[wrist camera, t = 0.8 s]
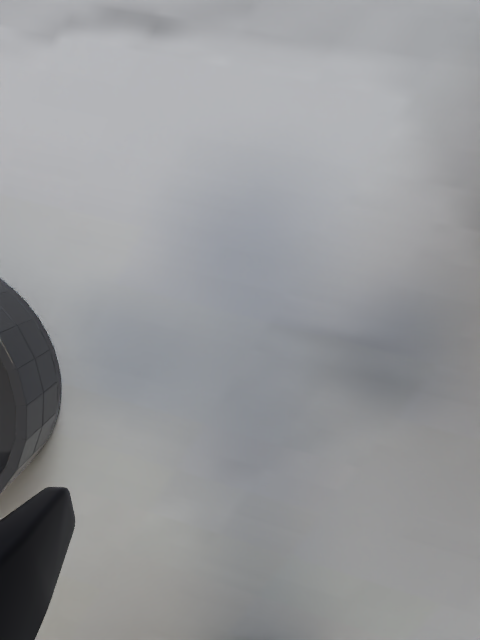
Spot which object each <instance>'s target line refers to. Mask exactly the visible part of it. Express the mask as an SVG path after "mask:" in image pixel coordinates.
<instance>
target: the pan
mask: <svg viewBox="0 0 480 640" xmlns="http://www.w3.org/2000/svg"><path fill="white" fill-rule="evenodd" d="M60 399H61V378H60V372H59V366H58V361H57V358H56V355H55V351H54V348H53V346H52V343H51V341H50V339H49V337H48V334H47V332H46V330H45V329H44V327H43V325H42V324H41V322H40V320H39V319H38V317H37V316H36V315H35V313H34V312H33V311H32V309H31V308H30V307H29V305H28V304H27V303H26V302H25V301H24V300H23V299H22V298H21V297H20V296H19V295H18V294H17V293H16V292H15V291H14V290H13V289H12V288H11V287H9V286H8V285H7V284H6V283H5V282H3V281H2V280H1V279H0V494H1V493H2V492H3V491H4V490H5V488H6V487H7V486H8V485H9V484H10V483H11V482H12V481H13V480H14V479H15V478H16V477H17V476H18V475H19V474H20V473H21V472H22V471H23V470H24V469H25V468H26V467H27V466H28V465H29V464H30V463H31V461H32V460H33V459H34V457H35V456H36V455H37V454H38V452H39V451H40V450H41V449H42V448H43V446H44V445H45V443H46V442H47V440H48V438H49V437H50V435H51V433H52V430H53V428H54V426H55V423H56V420H57V416H58V412H59V409H60Z"/></svg>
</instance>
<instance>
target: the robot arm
mask: <svg viewBox="0 0 480 640" xmlns="http://www.w3.org/2000/svg"><path fill="white" fill-rule="evenodd" d="M74 527H75V516H74V511H73V506H72V501H71V496H70V492H69V490H68V489H67V488H65V487H48V488H45V489H44V490H42V491H41V492H39V493H38V494H37V495H35V496H34V497H32V498H31V499H30V500H28V501H27V502H25V503H24V504H23V505H21V506H20V507H18V508H17V509H16V510H14V511H13V512H11V513H10V514H9V515H7V516H6V517H4V518H3V519H2V520H0V640H35V638H36V635H37V633H38V631H39V628H40V626H41V624H42V621H43V619H44V616H45V614H46V612H47V609H48V606H49V603H50V601H51V598H52V595H53V592H54V589H55V586H56V583H57V580H58V577H59V574H60V571H61V568H62V564H63V561H64V558H65V555H66V552H67V549H68V546H69V543H70V540H71V537H72V534H73V531H74Z"/></svg>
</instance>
